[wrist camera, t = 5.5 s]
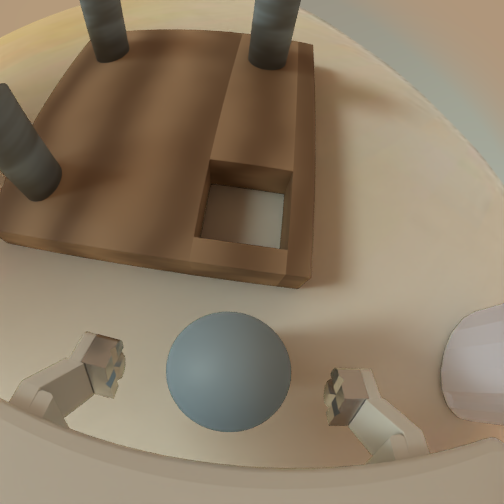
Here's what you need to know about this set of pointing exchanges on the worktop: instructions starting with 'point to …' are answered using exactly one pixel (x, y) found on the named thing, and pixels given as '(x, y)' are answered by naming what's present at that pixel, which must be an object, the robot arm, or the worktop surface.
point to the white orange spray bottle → (476, 367)
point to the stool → (167, 147)
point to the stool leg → (228, 371)
